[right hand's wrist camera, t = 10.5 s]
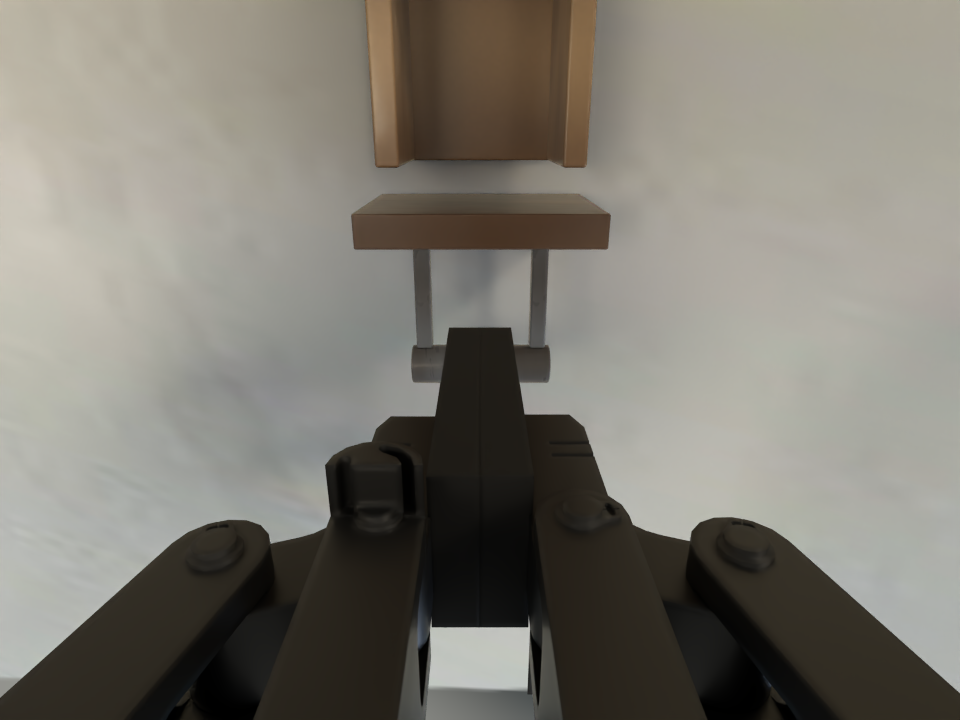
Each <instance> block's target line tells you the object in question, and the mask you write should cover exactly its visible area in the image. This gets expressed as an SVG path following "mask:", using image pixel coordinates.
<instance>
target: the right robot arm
mask: <svg viewBox="0 0 960 720" xmlns="http://www.w3.org/2000/svg"><path fill="white" fill-rule="evenodd" d="M325 469H326V478H327V487H328V495H329V504H330V513H331V517H330V520H329V522H328V525H327V528H325V529H323V530H320V531H318V532H316V533H314V534H310V535H307V536H303V537H300V538H296V539H291V540H286V541H281V542H277V543H272V544H270V539H269V534H268V533H267V532H266V531H265V530H264V528H263V527H262V526H261V525H258V524H255V523H252V522H250V521H247V520H226V521H220V522H215V523H211V524H207V525H205V526H202V527H200V528H197V529H195V530H192V531H190V532H188V533H187V534H185V535H184V536H182V537H181V538H179V539H178V540H176V541H175V542H173V543H172V544H171V545H170V546H169V547H168V548H166V549H165V550H164V551H163V552H162V553H161V554H160V555H159V556H158V557H156V558H155V559H154V560H153V561H152V562H151V563H150V564H149V565H148V566H146V567H145V568H144V569H143V570H142V571H141V572H140V573H139V574H138V575H136V576H135V577H134V578H133V579H132V580H131V581H130V582H129V583H128V584H126V585H125V586H124V587H123V588H122V589H121V590H120V591H119V592H118V593H116V594H115V595H114V596H113V597H112V598H111V599H110V600H109V601H107V602H106V603H105V604H104V605H103V606H102V607H101V608H100V609H99V610H97V611H96V612H95V613H94V614H93V615H92V616H91V617H90V618H89V619H87V620H86V621H85V622H84V623H83V624H82V625H81V626H80V627H79V628H77V629H76V630H75V631H74V632H73V633H72V634H71V635H70V636H69V637H67V638H66V639H65V640H64V641H63V642H62V643H61V644H60V645H59V646H57V647H56V648H55V649H54V650H53V651H52V652H51V653H50V654H49V655H47V656H46V657H45V658H44V659H43V660H42V661H41V662H40V663H39V664H37V665H36V666H35V667H34V668H33V669H32V670H31V671H30V672H28V673H27V674H26V675H25V676H24V677H23V678H22V679H21V680H20V681H18V682H17V683H16V684H15V685H14V686H13V687H12V688H11V689H10V690H8V691H7V692H6V693H5V694H4V695H3V696H2V697H1V698H0V720H425V717H426V705H427V695H428V684H429V672H430V661H431V647H430V624H431V619H432V627H528V619H529V621H530V647H529V671H528V694H533V705H534V716H535V720H960V693H959V692H958V691H957V690H955V689H954V688H953V687H952V686H951V685H950V684H949V683H948V682H946V681H945V680H944V679H943V678H942V677H941V676H940V675H939V674H938V673H936V672H935V671H934V670H933V669H932V668H931V667H930V666H929V665H927V664H926V663H925V662H924V661H923V660H922V659H921V658H920V657H918V656H917V655H916V654H915V653H914V652H913V651H912V650H911V649H909V648H908V647H907V646H906V645H905V644H904V643H903V642H902V641H901V640H899V639H898V638H897V637H896V636H895V635H894V634H893V633H892V632H890V631H889V630H888V629H887V628H886V627H885V626H884V625H883V624H881V623H880V622H879V621H878V620H877V619H876V618H875V617H874V616H872V615H871V614H870V613H869V612H868V611H867V610H866V609H865V608H863V607H862V606H861V605H860V604H859V603H858V602H857V601H856V600H855V599H853V598H852V597H851V596H850V595H849V594H848V593H847V592H846V591H844V590H843V589H842V588H841V587H840V586H839V585H838V584H837V583H835V582H834V581H833V580H832V579H831V578H830V577H829V576H828V575H826V574H825V573H824V572H823V571H822V570H821V569H820V568H819V567H817V566H816V565H815V564H814V563H813V562H812V561H811V560H810V559H809V558H807V557H806V556H805V555H804V554H803V553H802V552H801V551H800V550H798V549H797V548H796V547H795V546H794V545H793V544H792V543H791V542H789V541H788V540H787V539H785V538H784V537H782V536H781V535H779V534H778V533H777V532H775V531H774V530H772V529H770V528H767V527H765V526H763V525H760V524H758V523H755V522H753V521H748V520H744V519H738V518H733V517H726V518H712V519H709V520H706V521H703V522H700V523H699V524H698V525H697V526H696V527H695V528H694V529H693V531H692V532H691V539H690V541H686V540H681V539H676V538H672V537H667V536H662V535H658V534H655V533H651V532H648V531H645V530H643V529H641V528H639V527H636V526H634V525H633V524H632V521H631V519H630V516H629V514H628V513H627V512H626V510H625V509H624V507H623V506H622V505H621V504H620V503H618V502H617V501H615V500H614V499H612V498H611V497H609V496H608V494H607V491H606V489H605V486H604V483H603V480H602V477H601V474H600V471H599V469H598V466H597V463H596V460H595V457H593V451H592V449H591V446H590V444H589V440H588V437H587V434H586V431H585V429H584V427H583V426H582V425H581V424H580V423H579V422H577V421H576V420H575V419H574V418H573V417H571V416H570V415H524V409H523V402H522V396H521V389H520V383H519V377H518V370H517V364H516V357H515V351H514V345H513V338H512V332H511V328H449V332H448V338H447V345H446V351H445V357H444V364H443V370H442V377H441V383H440V389H439V396H438V402H437V409H436V415H435V417H390V418H389V419H387V420H386V421H385V422H384V423H383V424H382V425H380V426H379V427H378V428H377V429H376V431H375V434H374V437H373V440H372V442H366V443H361V444H358V445H354V446H351V447H347V448H345V449H344V450H342V451H340V452H338V453H337V454H335V455H333V456H332V458H331V459H330V460H329V461H328V462H327V464H326V465H325Z"/></svg>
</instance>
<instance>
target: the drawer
mask: <svg viewBox="0 0 960 720" xmlns="http://www.w3.org/2000/svg"><path fill="white" fill-rule="evenodd" d="M365 8H366V24H367V40H368V56H369V72H370V88H371V104H372V120H373V136H374V152H375V165H376V167H378V168H397V167H399V166H401V165H403V164H406V163H408V162H410V161H412V160H550V161H552V162H554V163H556V164H558V165H561V166H563V167H565V168H584V167H586V165H587V152H588V136H589V120H590V104H591V88H592V72H593V57H594V41H595V25H596V9H597V0H365ZM610 217H611V215H610V214H609V213H607V212H606V211H604V210H603V209H601V208H600V207H598V206H597V205H595V204H594V203H592V202H591V201H589V200H588V199H586V198H584V197H583V196H581V195H580V194H382V195H380V196H379V197H377V198H376V199H374V200H373V201H371V202H370V203H368V204H367V205H365V206H364V207H362V208H361V209H359V210H358V211H356V212H355V213H353V214H352V215H351V218H352V231H353V243H354V249H356V250H399V249H413V262H414V285H415V309H416V333H417V345H413V348H412V359H411V369H412V379H413V382H414V383H441V377H442V370H443V364H444V357H445V351H446V345H433V318H432V286H431V254H430V249H531V278H530V310H529V341H528V342H529V345H514V351H515V357H516V364H517V370H518V377H519V383H547V382H549V378H550V350H549V346H548V345H545V326H546V303H547V280H548V256H549V249H608V242H609V230H610Z"/></svg>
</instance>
